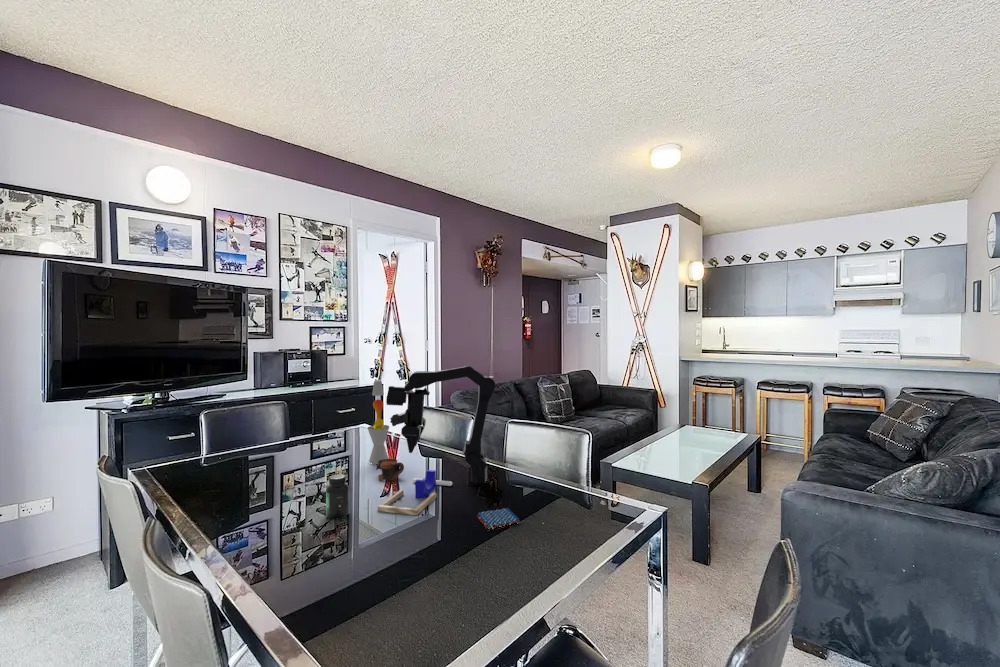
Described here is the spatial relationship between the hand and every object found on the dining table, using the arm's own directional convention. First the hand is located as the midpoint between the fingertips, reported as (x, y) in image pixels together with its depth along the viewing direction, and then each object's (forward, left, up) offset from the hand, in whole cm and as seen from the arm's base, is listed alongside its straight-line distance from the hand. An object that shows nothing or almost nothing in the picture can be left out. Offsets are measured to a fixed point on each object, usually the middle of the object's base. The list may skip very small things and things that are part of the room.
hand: (412, 449), depth 169 cm
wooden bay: (-6, +15, -14) cm, 21 cm away
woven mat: (-38, +21, -14) cm, 46 cm away
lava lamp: (+28, -25, -14) cm, 40 cm away
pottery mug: (+13, -7, -14) cm, 21 cm away
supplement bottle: (+11, +29, -14) cm, 34 cm away
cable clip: (-6, +4, -14) cm, 16 cm away
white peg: (-6, -4, -14) cm, 15 cm away
